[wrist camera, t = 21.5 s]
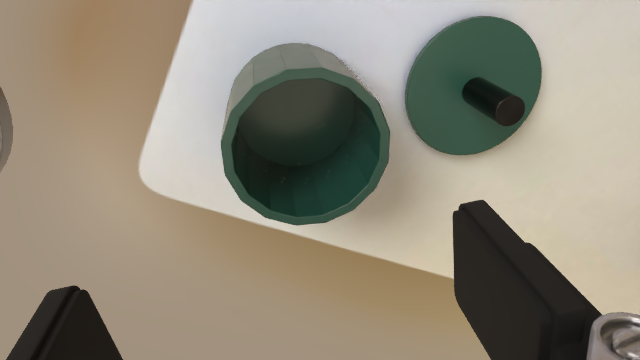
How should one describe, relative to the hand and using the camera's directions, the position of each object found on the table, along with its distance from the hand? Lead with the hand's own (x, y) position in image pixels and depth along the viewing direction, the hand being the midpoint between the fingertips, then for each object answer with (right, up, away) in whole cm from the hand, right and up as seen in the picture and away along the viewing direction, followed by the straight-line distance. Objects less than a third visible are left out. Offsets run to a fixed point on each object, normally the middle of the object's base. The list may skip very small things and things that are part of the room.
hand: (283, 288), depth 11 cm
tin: (-1, +9, +27) cm, 29 cm away
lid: (+14, +11, +28) cm, 33 cm away
